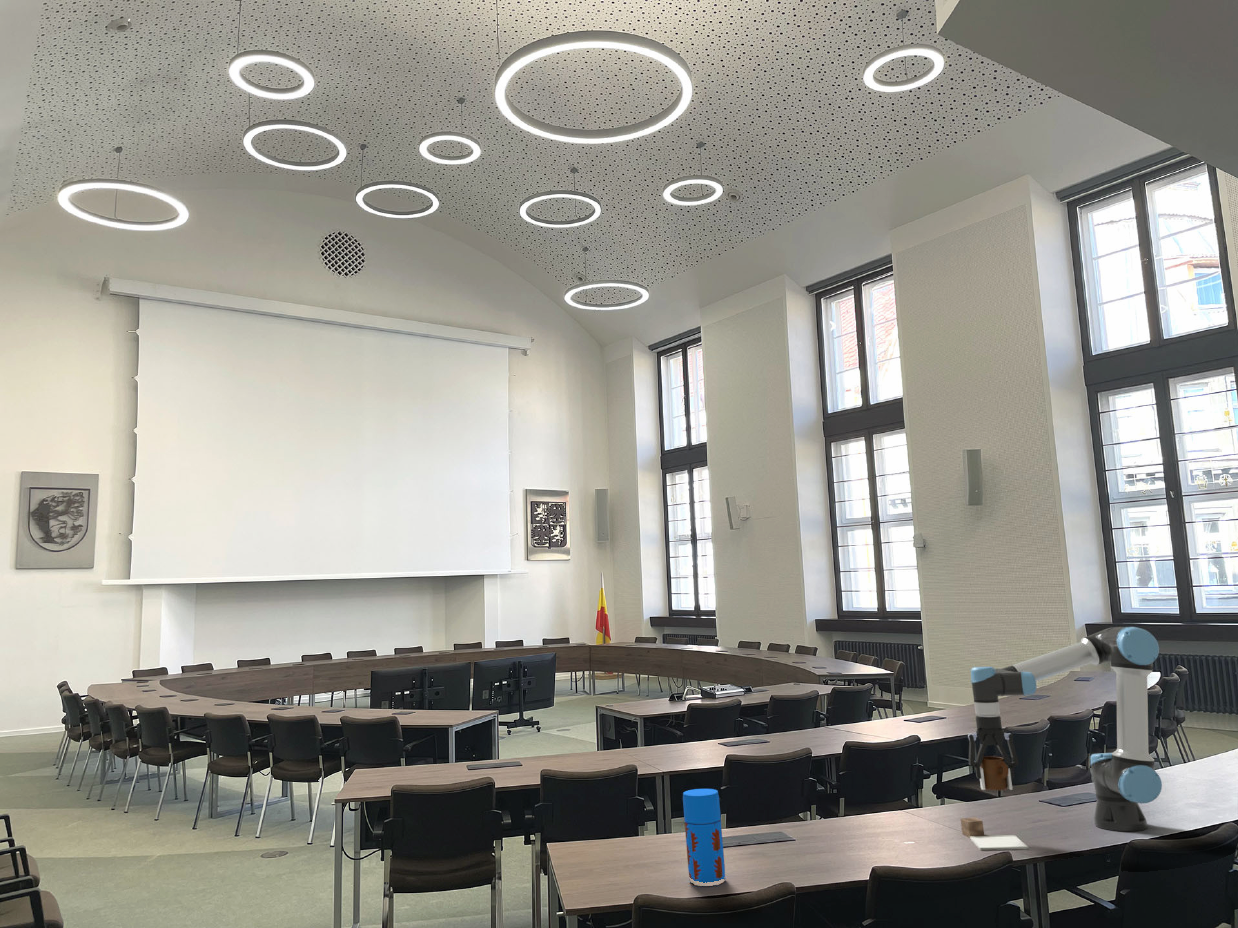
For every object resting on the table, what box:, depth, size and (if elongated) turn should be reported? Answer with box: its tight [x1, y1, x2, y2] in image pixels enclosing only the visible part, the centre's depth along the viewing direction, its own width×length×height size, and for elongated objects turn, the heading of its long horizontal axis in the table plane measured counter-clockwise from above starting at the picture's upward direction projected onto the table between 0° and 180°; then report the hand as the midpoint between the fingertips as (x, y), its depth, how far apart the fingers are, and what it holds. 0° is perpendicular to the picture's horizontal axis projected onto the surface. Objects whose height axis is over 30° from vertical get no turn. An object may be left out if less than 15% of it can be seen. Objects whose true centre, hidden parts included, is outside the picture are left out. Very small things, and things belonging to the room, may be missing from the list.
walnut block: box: [960, 816, 985, 839], centre depth 277 cm, size 5×5×5 cm
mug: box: [980, 755, 1008, 791], centre depth 270 cm, size 12×8×9 cm, turn 8°
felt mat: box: [969, 834, 1029, 851], centre depth 266 cm, size 14×14×1 cm
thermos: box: [682, 788, 726, 883], centre depth 250 cm, size 11×11×25 cm
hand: (996, 788), depth 270 cm, fingers closed on mug, 7 cm apart
